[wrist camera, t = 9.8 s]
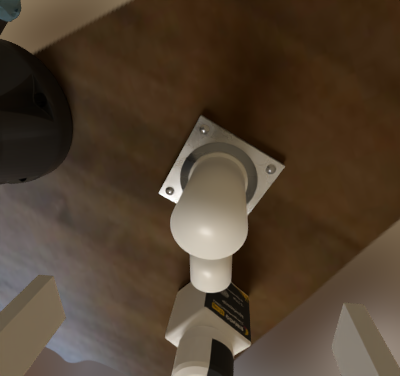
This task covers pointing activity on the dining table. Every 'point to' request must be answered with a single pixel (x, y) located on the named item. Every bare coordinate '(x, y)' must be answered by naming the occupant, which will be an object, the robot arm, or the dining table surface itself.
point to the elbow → (212, 218)
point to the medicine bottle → (208, 330)
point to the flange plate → (227, 142)
